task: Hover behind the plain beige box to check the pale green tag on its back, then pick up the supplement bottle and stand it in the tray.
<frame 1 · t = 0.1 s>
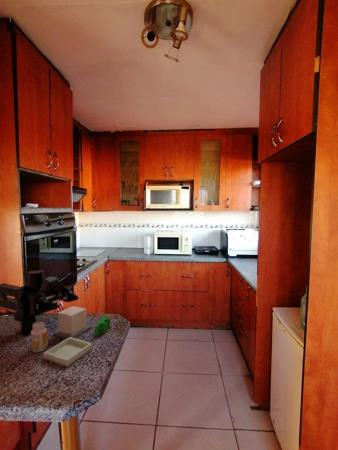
hand: (68, 302, 94), 17 cm above the countertop, tool horizontal, fingers open, 9 cm apart
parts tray: (68, 353, 88), on the countertop
plain beige box: (73, 331, 105), on the countertop
supplement bottle: (39, 349, 92), on the countertop
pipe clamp: (103, 331, 106), on the countertop
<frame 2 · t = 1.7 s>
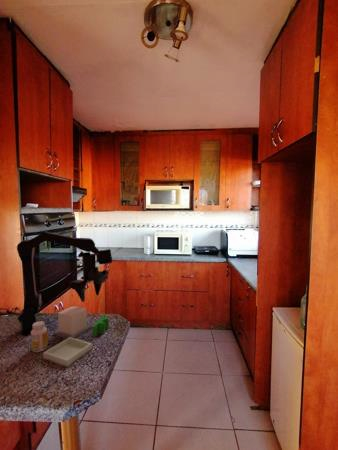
hand: (90, 298, 115), 11 cm above the countertop, tool pointing down, fingers open, 9 cm apart
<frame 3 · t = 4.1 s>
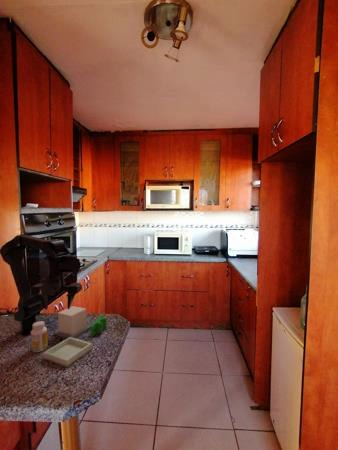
hand: (57, 309, 99), 12 cm above the countertop, tool pointing down, fingers open, 9 cm apart
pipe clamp: (100, 331, 106), on the countertop
everything else where it was.
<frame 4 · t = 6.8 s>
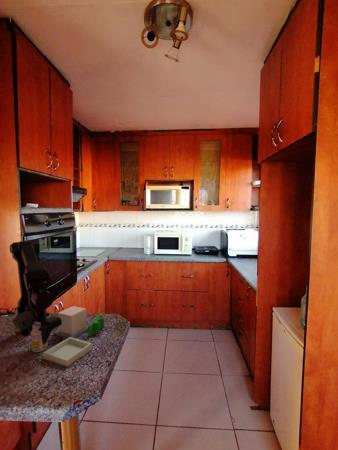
hand: (39, 341, 92), 3 cm above the countertop, tool pointing down, fingers closed on supplement bottle, 5 cm apart
supplement bottle: (39, 348, 92), on the countertop, touching gripper
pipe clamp: (97, 330, 106), on the countertop
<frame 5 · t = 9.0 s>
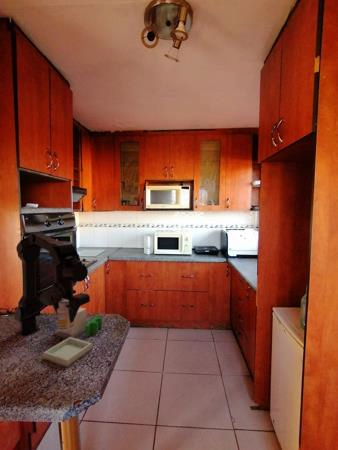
hand: (66, 320, 88), 12 cm above the countertop, tool pointing down, fingers closed on supplement bottle, 5 cm apart
supplement bottle: (66, 328, 88), point 9 cm above the countertop, touching gripper
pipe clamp: (95, 330, 106), on the countertop
when the fingers open (4 cm above the countertop, at t = 11.3 s): supplement bottle drops 1 cm, resting on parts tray.
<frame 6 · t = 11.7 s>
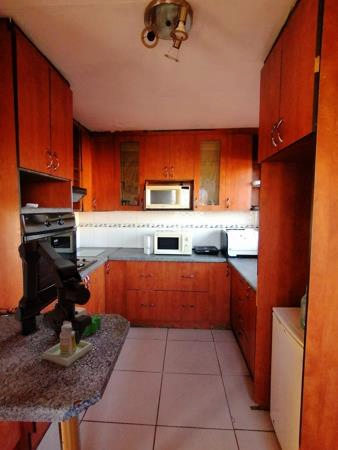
hand: (68, 341, 88), 4 cm above the countertop, tool pointing down, fingers open, 9 cm apart
supplement bottle: (68, 352, 88), resting on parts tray
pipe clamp: (94, 330, 106), on the countertop, touching plain beige box
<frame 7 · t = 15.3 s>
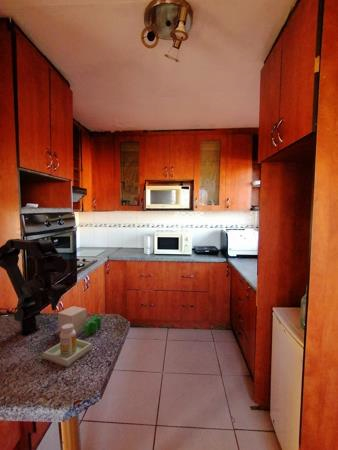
hand: (45, 308, 100), 12 cm above the countertop, tool pointing down, fingers open, 9 cm apart
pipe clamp: (94, 330, 106), on the countertop
everything else where it was.
at the end: supplement bottle inside the target area on the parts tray (0.1 cm from its centre), point 0.4 cm above the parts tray's base; supplement bottle tilted 0°; the gripper is holding nothing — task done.
